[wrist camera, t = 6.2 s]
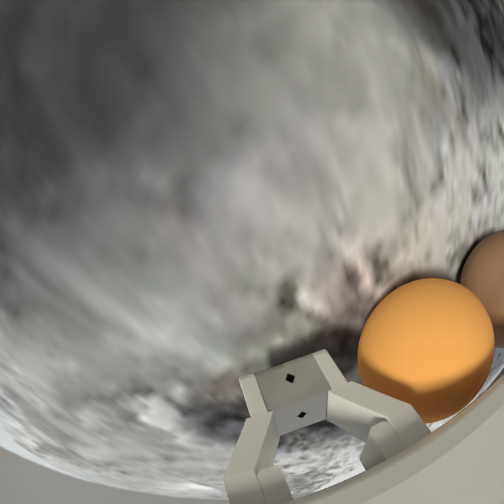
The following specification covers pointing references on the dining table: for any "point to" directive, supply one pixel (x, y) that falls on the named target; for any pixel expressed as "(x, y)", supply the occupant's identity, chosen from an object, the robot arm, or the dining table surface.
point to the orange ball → (427, 347)
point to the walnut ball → (488, 280)
